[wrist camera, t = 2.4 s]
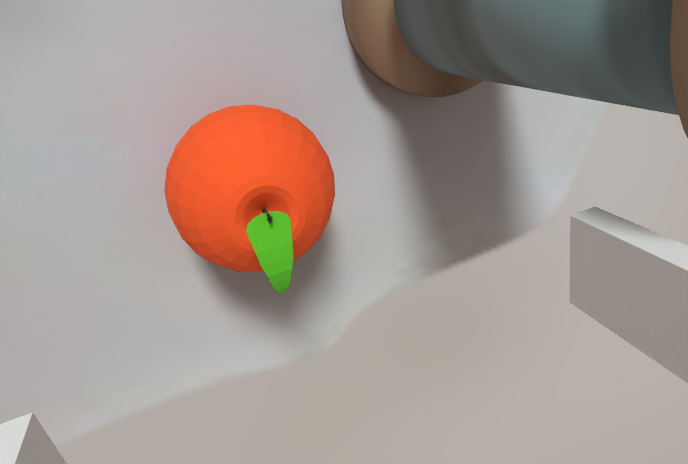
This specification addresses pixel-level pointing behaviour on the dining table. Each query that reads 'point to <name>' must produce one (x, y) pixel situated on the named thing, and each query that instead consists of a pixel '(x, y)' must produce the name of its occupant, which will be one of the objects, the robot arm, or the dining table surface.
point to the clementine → (250, 190)
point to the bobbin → (529, 47)
